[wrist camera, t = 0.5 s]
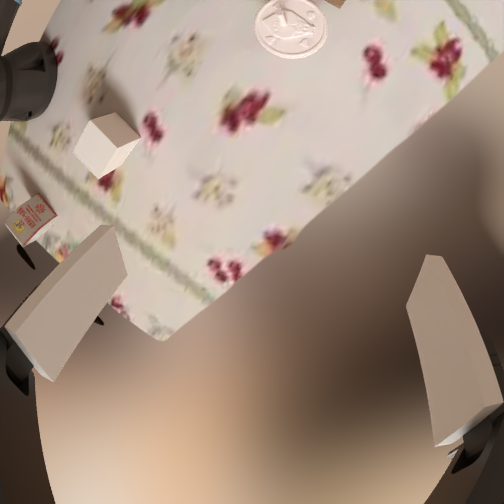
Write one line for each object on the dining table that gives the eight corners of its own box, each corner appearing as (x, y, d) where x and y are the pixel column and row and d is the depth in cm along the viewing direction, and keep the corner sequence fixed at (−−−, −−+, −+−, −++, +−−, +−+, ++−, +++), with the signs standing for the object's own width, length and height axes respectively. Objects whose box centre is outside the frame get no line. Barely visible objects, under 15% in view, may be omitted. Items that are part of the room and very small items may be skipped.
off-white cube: (97, 140, 37) (72, 152, 32) (115, 111, 34) (89, 119, 29) (121, 165, 39) (98, 179, 34) (141, 137, 36) (117, 148, 31)
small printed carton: (52, 225, 49) (22, 251, 41) (34, 204, 47) (3, 227, 39) (57, 215, 47) (24, 241, 39) (38, 193, 45) (4, 216, 37)
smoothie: (273, 13, 24) (250, -26, 13) (327, 24, 24) (339, -11, 12) (263, 59, 28) (235, 44, 16) (317, 71, 28) (323, 61, 16)
